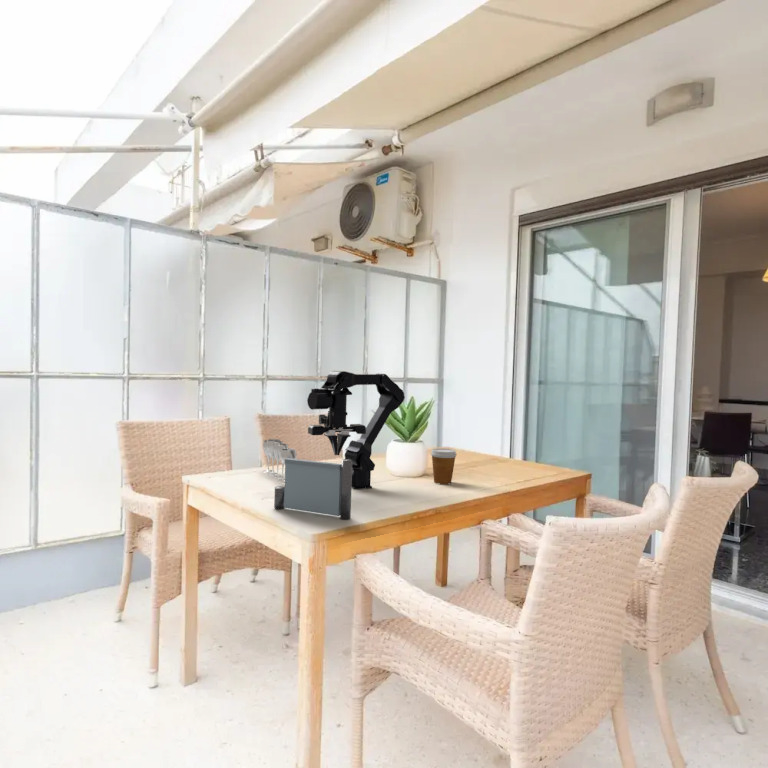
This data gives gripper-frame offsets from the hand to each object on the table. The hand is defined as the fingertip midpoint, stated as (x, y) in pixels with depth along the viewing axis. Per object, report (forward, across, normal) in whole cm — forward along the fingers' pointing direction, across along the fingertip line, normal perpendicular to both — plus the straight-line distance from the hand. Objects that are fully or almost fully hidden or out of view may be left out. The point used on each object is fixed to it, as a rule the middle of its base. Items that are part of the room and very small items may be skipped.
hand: (336, 455), depth 174 cm
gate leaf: (+11, +15, +24) cm, 30 cm away
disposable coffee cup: (+12, -42, -1) cm, 44 cm away
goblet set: (+12, +14, -26) cm, 32 cm away
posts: (+12, +15, +23) cm, 30 cm away
